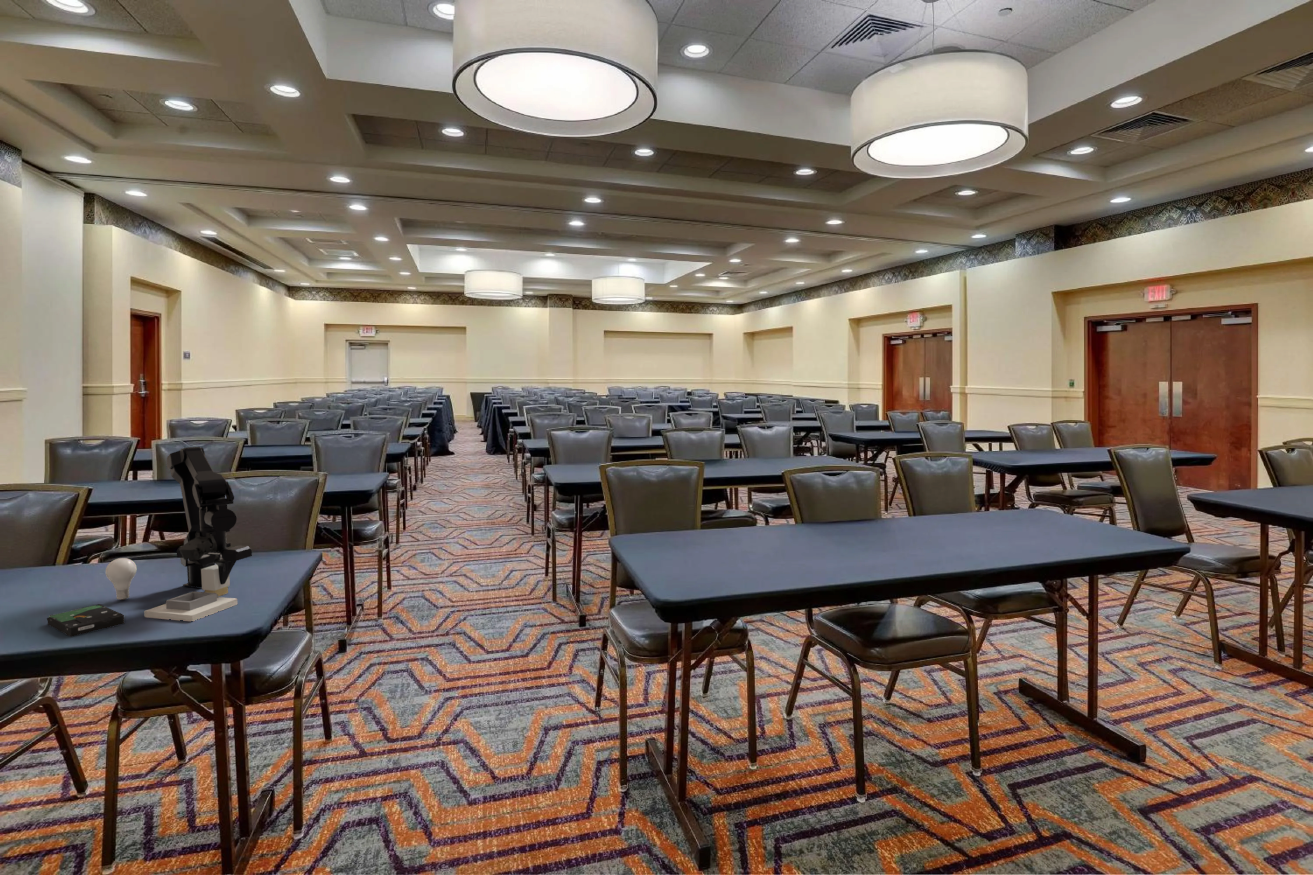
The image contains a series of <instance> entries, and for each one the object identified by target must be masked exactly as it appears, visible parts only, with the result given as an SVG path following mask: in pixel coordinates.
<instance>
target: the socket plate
mask: <svg viewBox="0 0 1313 875" xmlns="http://www.w3.org/2000/svg"><path fill="white" fill-rule="evenodd" d="M237 605H238V598H234V597H223V596H218V594H216V593H208V592H205V591H196V590H195V591H193V590H192V591H191V592H188V593H184V594H181V595H179V596H176V597H172V598H170V599H166V600H165V603H164V604H162V605H158V606H155V607H152V608H149V609H145V610H144V612H143V613H144V618H148V619H149V618H150V619H160V620H161V619H162V620H169V619H171V621H180V620H183V622H191V621H193V622H196V621H198V620H200V618H201V619H203V618H206V617H208V615H209V616H211V615H213V614H216V613H219V612H221V611H223V610H227V609H229V608H231V607H235V606H237ZM218 611H219V612H218ZM205 616H206V617H205ZM197 619H198V620H197ZM195 620H196V621H195Z"/></svg>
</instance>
